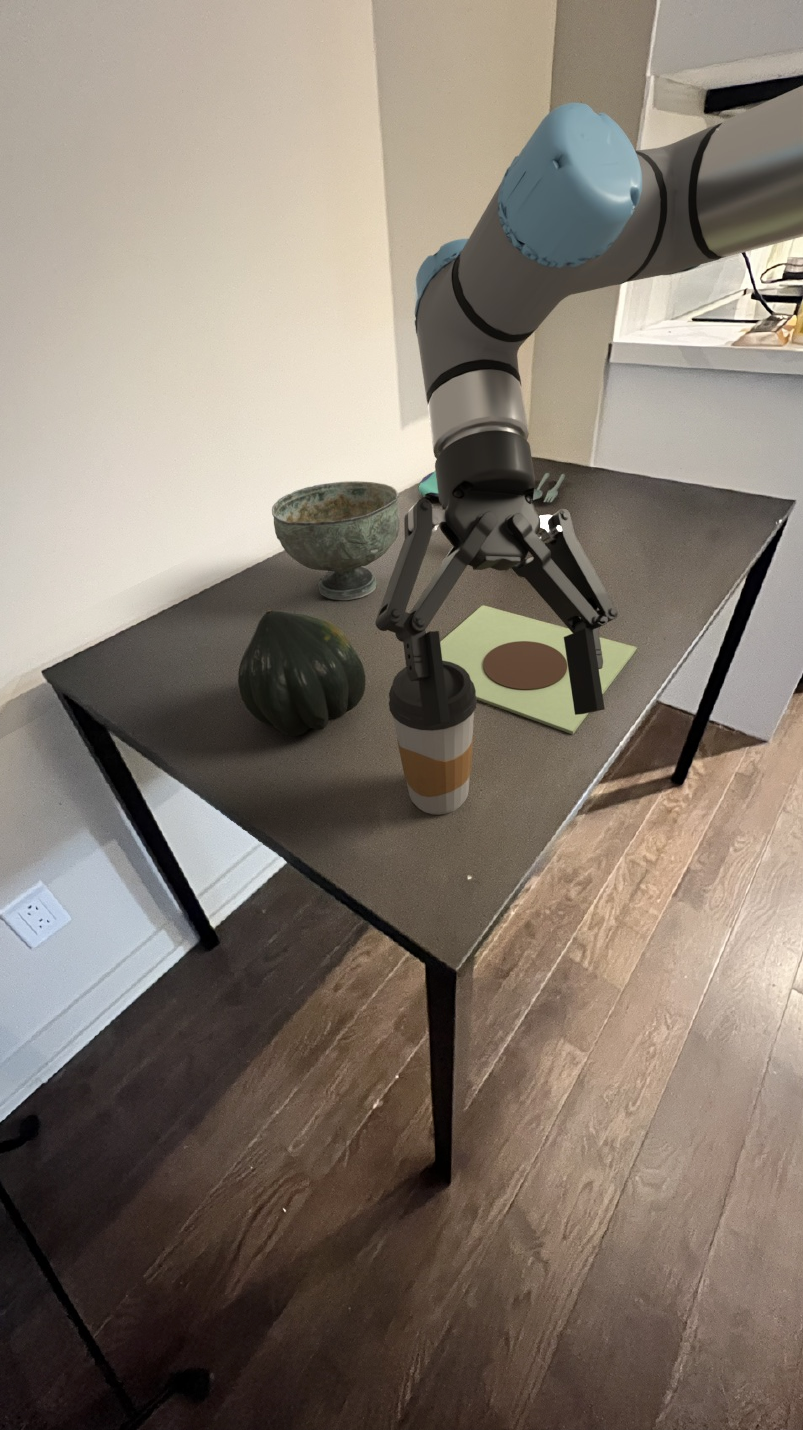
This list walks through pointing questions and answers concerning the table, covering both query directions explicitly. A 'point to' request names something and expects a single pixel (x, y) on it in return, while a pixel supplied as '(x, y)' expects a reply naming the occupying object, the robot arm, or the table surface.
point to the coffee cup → (435, 741)
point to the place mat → (525, 665)
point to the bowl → (339, 532)
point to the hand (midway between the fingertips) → (517, 719)
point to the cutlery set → (430, 487)
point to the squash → (299, 673)
